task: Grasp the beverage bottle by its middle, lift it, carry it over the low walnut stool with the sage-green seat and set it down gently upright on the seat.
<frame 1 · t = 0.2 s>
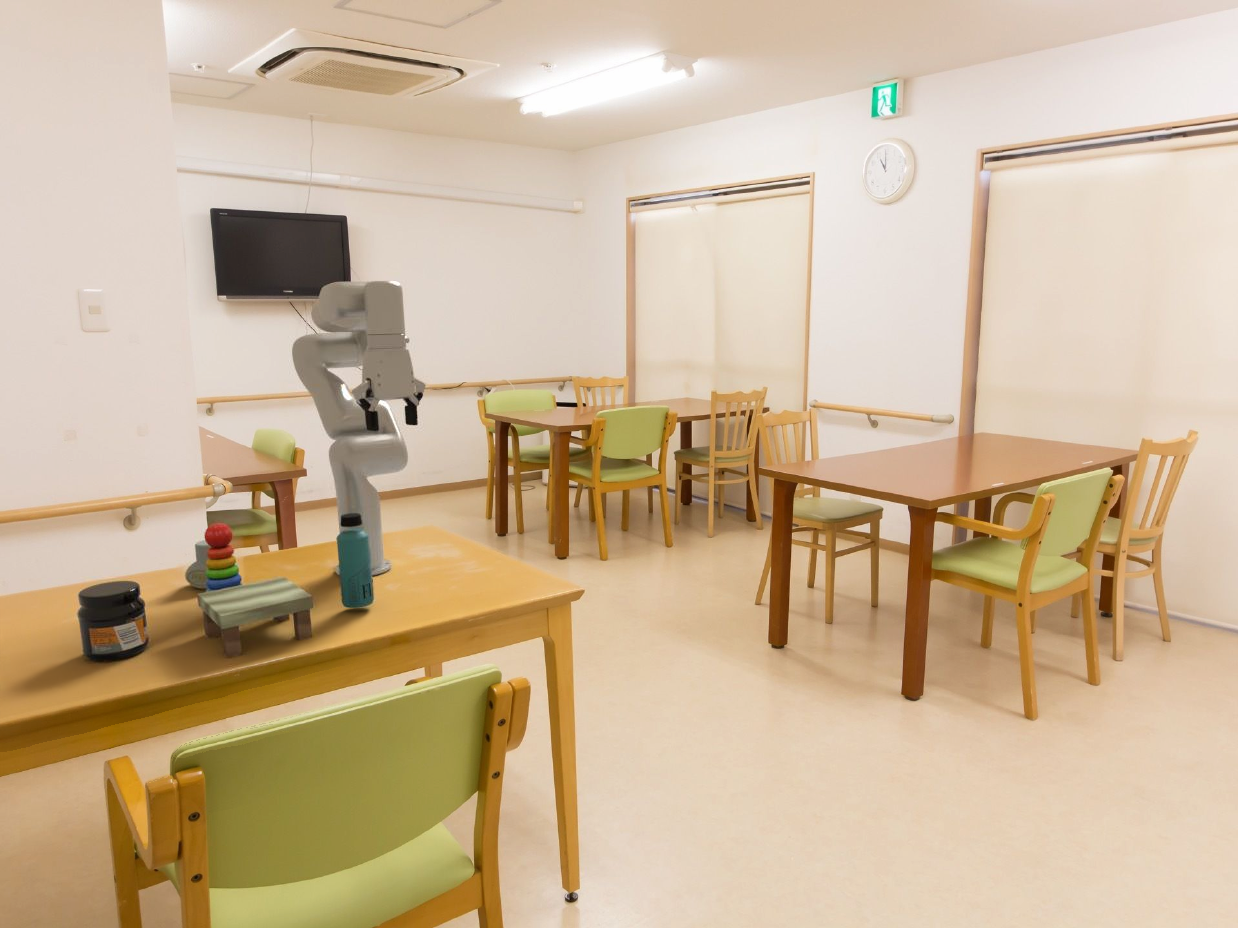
hand: (392, 427, 179), 36 cm above the table, tool pointing down, fingers open, 9 cm apart
stacking toy: (227, 614, 177), on the table
grey flask: (213, 586, 195), on the table
beverage bottle: (358, 610, 177), on the table
supplement container: (117, 653, 158), on the table
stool: (258, 635, 164), on the table
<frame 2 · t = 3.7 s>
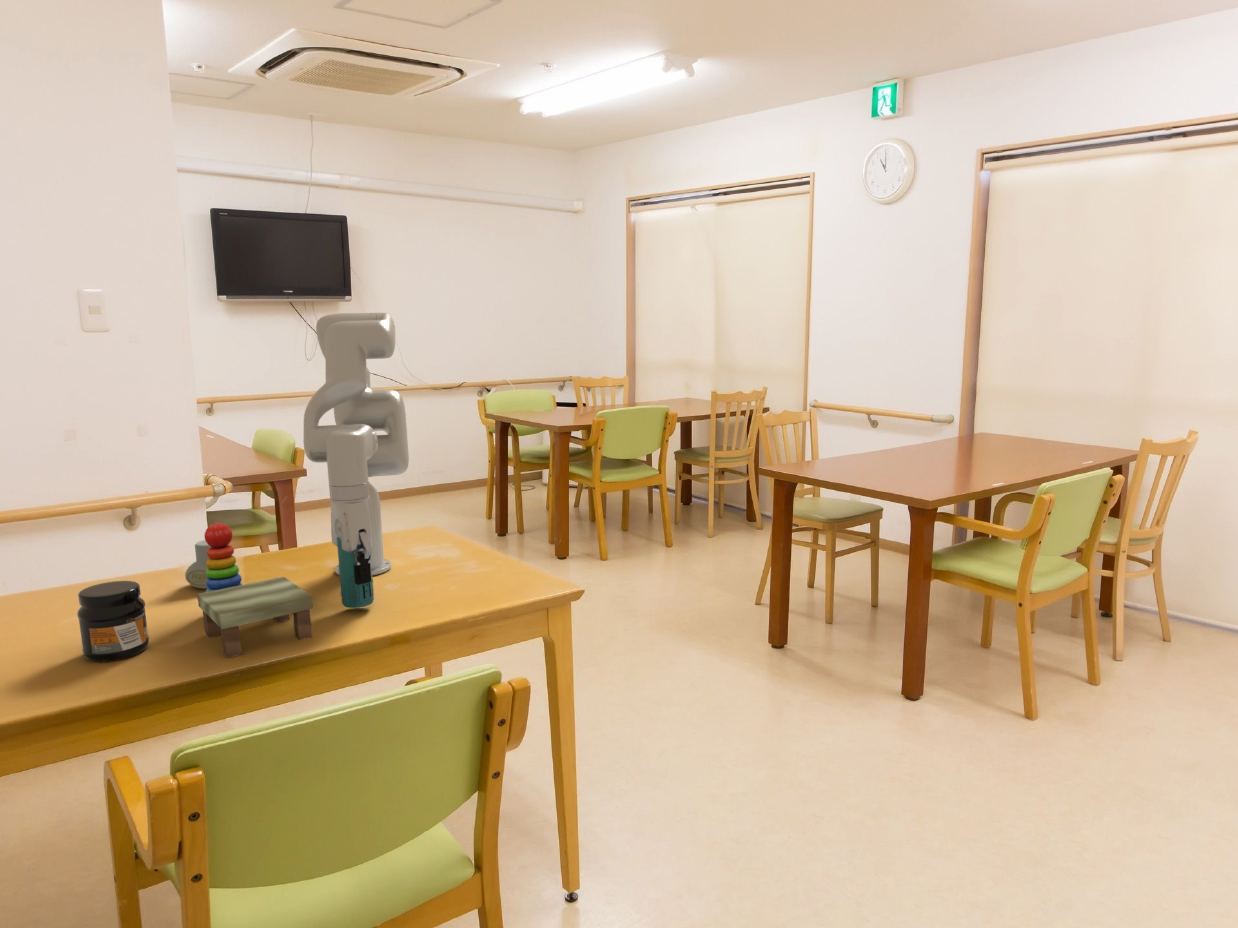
hand: (356, 578, 176), 7 cm above the table, tool pointing down, fingers closed on beverage bottle, 6 cm apart
beverage bottle: (358, 610, 177), on the table, touching gripper
everything else where it was.
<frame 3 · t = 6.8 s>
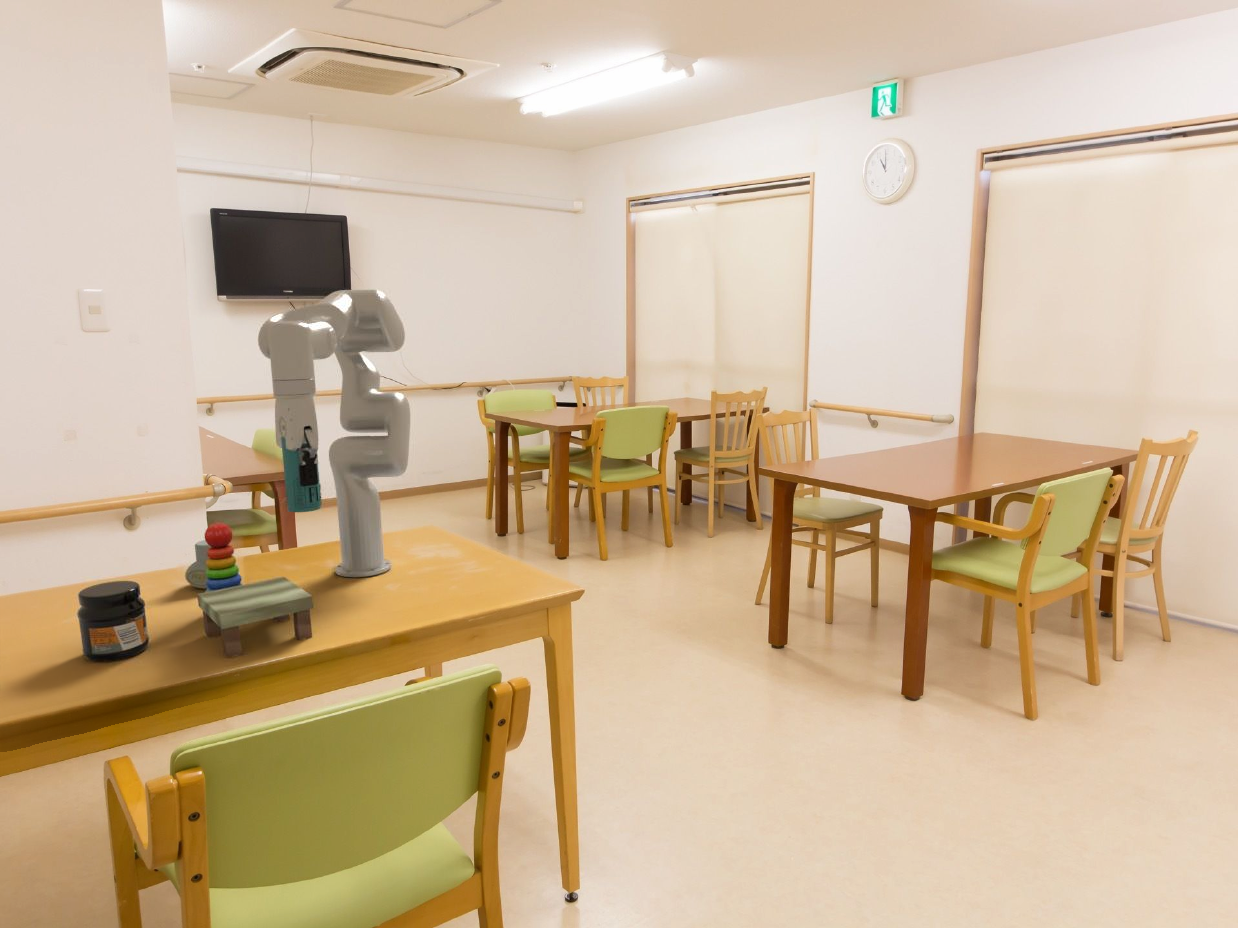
hand: (302, 482, 166), 28 cm above the table, tool pointing down, fingers closed on beverage bottle, 6 cm apart
beverage bottle: (305, 517, 167), point 21 cm above the table, touching gripper
everything else where it was.
when the fingers open (16 cm above the table, at t = 10.2 s): beverage bottle drops 1 cm, resting on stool.
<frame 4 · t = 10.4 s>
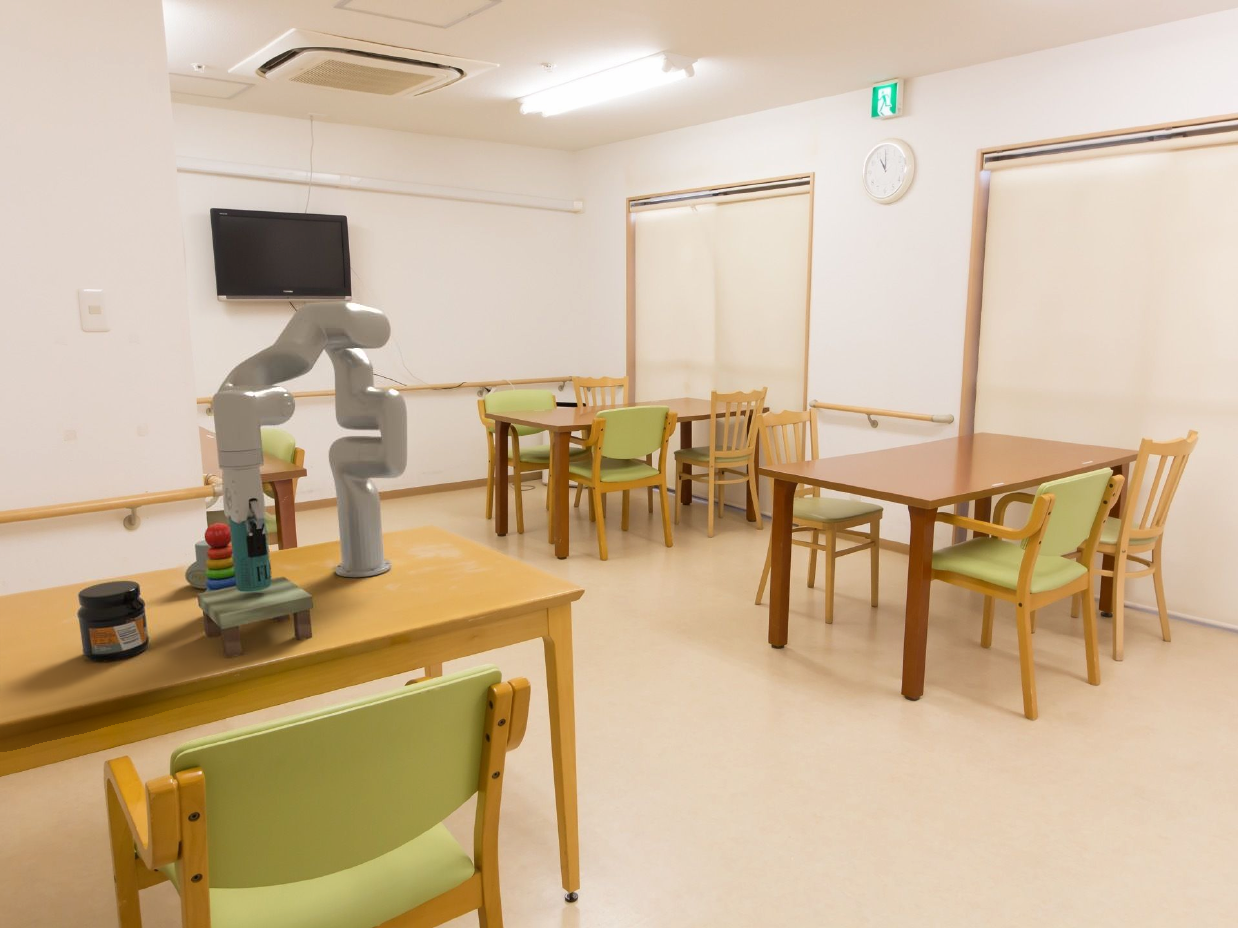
hand: (250, 550, 161), 17 cm above the table, tool pointing down, fingers open, 8 cm apart
beverage bottle: (254, 595, 163), point 8 cm above the table, touching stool
everything else where it was.
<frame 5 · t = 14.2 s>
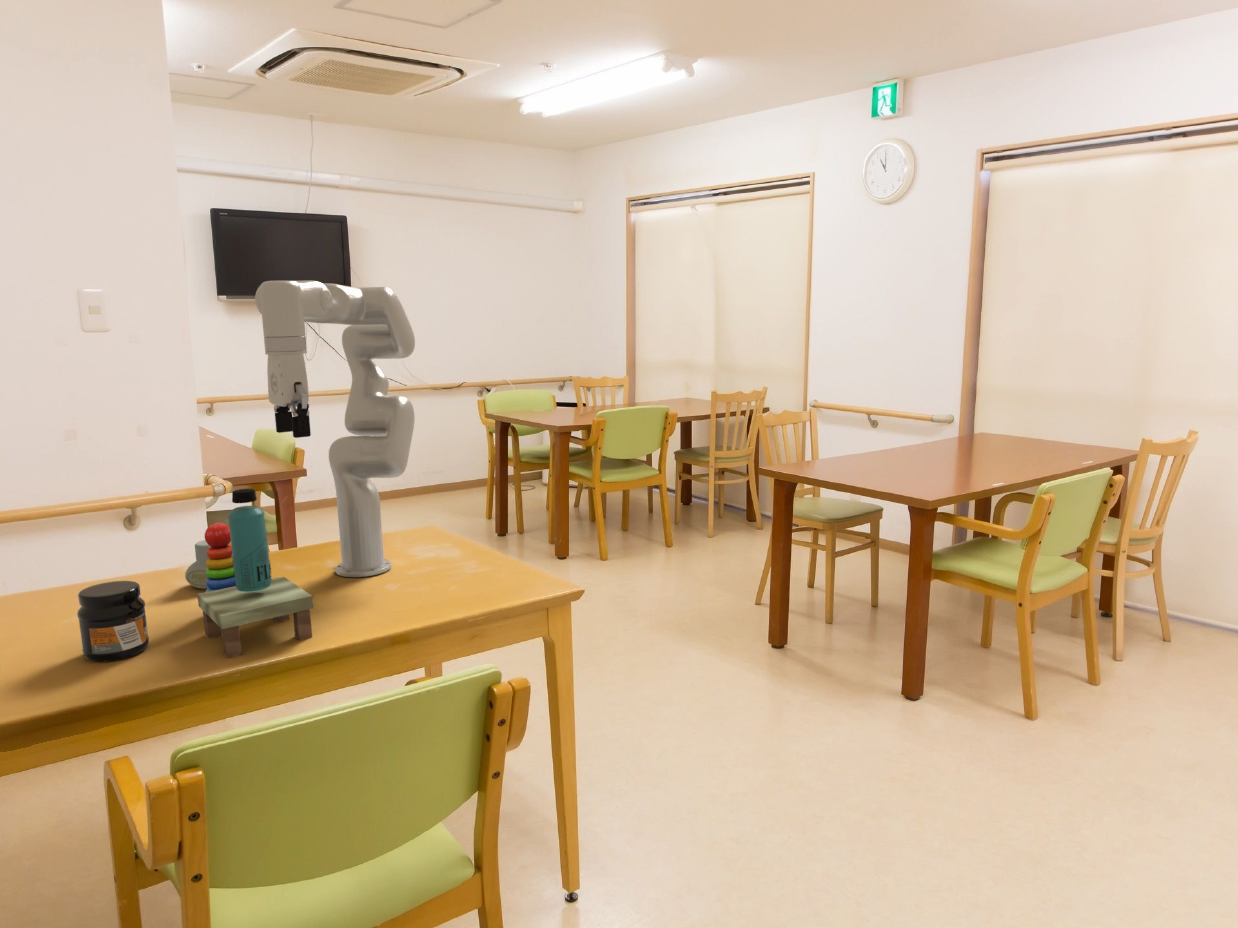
hand: (293, 434, 170), 36 cm above the table, tool pointing down, fingers open, 9 cm apart
nothing on the table moved.
at the end: beverage bottle inside the target area on the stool (0.5 cm from its centre), point 7.8 cm above the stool's base; beverage bottle tilted 0°; the gripper is holding nothing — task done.
